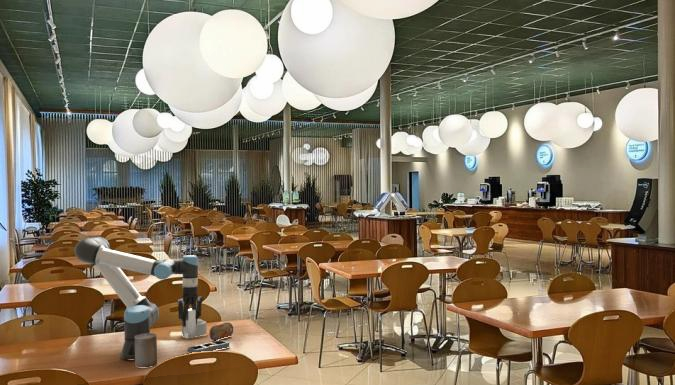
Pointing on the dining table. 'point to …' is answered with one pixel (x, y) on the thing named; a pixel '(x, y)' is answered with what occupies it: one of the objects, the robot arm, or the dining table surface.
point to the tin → (221, 331)
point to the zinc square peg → (190, 324)
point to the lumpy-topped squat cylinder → (199, 328)
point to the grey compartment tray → (209, 346)
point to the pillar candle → (145, 350)
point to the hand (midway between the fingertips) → (189, 331)
